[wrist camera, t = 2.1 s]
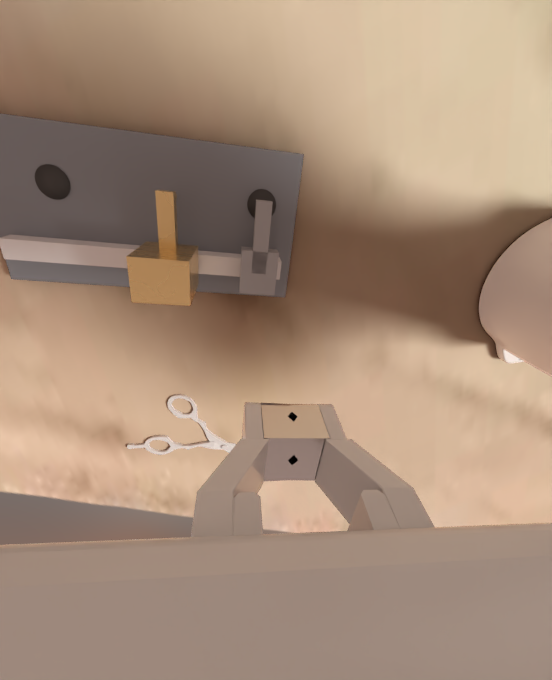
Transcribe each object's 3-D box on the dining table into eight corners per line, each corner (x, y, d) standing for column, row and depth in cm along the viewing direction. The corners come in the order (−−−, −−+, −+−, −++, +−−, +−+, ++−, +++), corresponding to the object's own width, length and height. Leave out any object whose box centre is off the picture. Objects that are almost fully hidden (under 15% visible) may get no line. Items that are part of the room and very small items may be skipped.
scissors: (160, 387, 34) (305, 445, 41) (162, 382, 35) (304, 441, 42) (126, 447, 38) (263, 492, 45) (128, 443, 39) (263, 487, 45)
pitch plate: (301, 154, 25) (311, 152, 22) (283, 293, 31) (289, 309, 27) (-30, 110, 22) (-81, 98, 18) (18, 275, 27) (-14, 290, 24)
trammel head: (199, 192, 24) (187, 197, 19) (200, 279, 27) (190, 305, 22) (145, 186, 24) (118, 190, 18) (153, 276, 27) (131, 302, 22)
